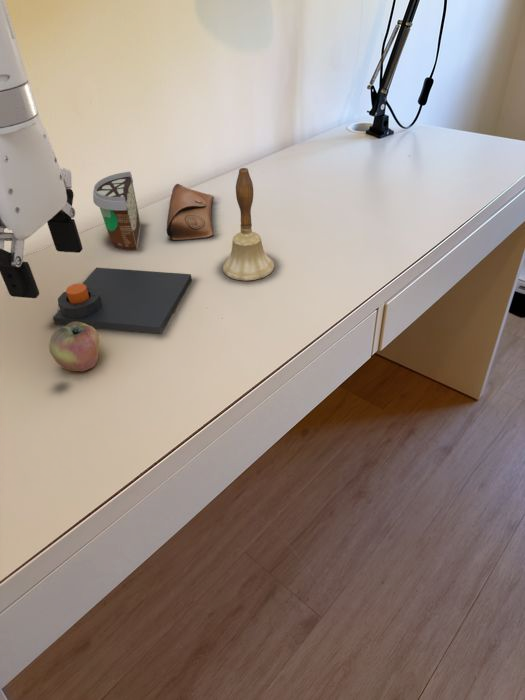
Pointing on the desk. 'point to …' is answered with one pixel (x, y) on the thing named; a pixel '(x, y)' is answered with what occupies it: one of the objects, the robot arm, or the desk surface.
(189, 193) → the sunglasses case
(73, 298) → the button
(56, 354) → the apple
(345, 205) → the desk surface
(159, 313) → the scale
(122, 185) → the food container
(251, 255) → the hand bell
